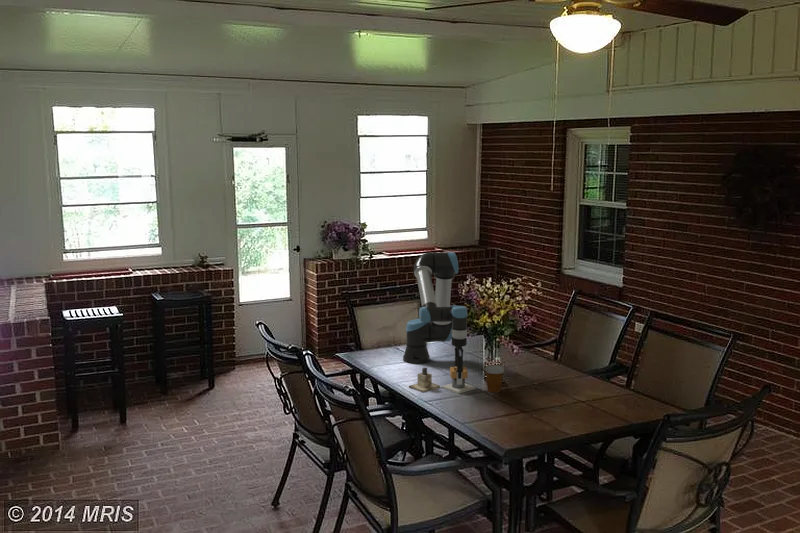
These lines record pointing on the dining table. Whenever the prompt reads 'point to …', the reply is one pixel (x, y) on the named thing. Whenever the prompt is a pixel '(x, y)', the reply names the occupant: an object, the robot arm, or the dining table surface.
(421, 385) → the stand
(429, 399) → the dining table surface
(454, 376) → the ring
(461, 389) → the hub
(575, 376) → the dining table surface
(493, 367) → the disposable coffee cup
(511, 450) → the dining table surface
